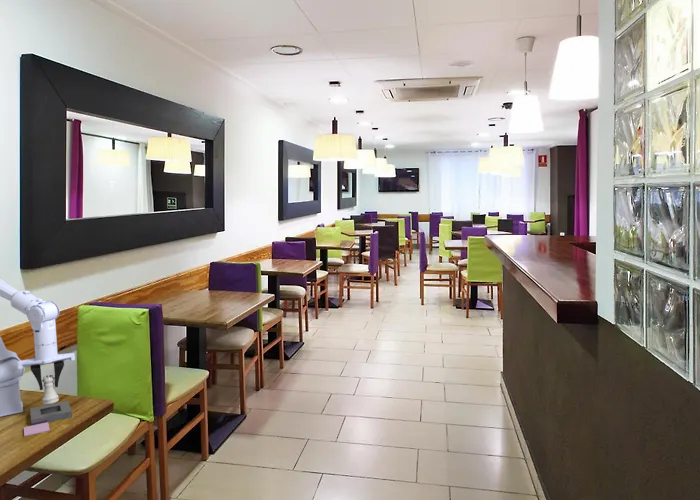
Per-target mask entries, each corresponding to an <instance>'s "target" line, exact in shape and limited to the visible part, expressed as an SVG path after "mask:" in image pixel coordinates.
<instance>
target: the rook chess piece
mask: <svg viewBox="0 0 700 500" xmlns="http://www.w3.org/2000/svg"><path fill="white" fill-rule="evenodd" d="M42 378H43V379H41V380H42V383H43V384H42V385H43V397H42V398H41V400H42V402H41V403H42V404H43V406H45V405H50V404H56V403H59V400H60V398H59V395H58V393H57V392H56V390H55V382H54V381H55V376H54V375H52V374H50V375H46V376H43V377H42Z"/></svg>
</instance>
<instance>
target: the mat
mask: <svg viewBox="0 0 700 500" xmlns="http://www.w3.org/2000/svg"><path fill="white" fill-rule="evenodd" d="M49 423H50V422H46V423H42V424H37V425H32V424H31V425H29V426H25V427H23V437H28V436H33V435H37V434H41V433H47V432H50V424H49Z"/></svg>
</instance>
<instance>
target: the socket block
mask: <svg viewBox="0 0 700 500" xmlns="http://www.w3.org/2000/svg"><path fill="white" fill-rule="evenodd" d="M70 405H71V404H70V402H69V400H66V401H62V402H56V403H54V404H50V405H41V406H40V405H39V406H36V407H32V408H31V407H30V410H29V411H30V422H31V426H32V425H37V424H42V423H46V422H48V423H51V422H56V421H62V420H66V419H70V418H73V414H72V413H73V412H72V408H71V406H70Z"/></svg>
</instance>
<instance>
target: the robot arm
mask: <svg viewBox="0 0 700 500" xmlns="http://www.w3.org/2000/svg"><path fill="white" fill-rule="evenodd" d="M31 292H32V291H30V290H18V289H16V288H14V286H12V285H10V284H8V282H6V281H5V280H3V279H2V277H1V276H0V297H1V298H4V299H6V300H8V301H10V306H11V308H13V309H15V310H17V311H19V312H20V313H22V314H23V315H26V318H27V320H28V321H29V323H30V326H31V330H32V331H33V340H34V342H33V343H34V356H35V357H33V358H29V359H27V358H26V359H24V360H23V359H22V360H21V358H19V357H18V354H17V353H16V351H15V352H14V351H12V350H9V349H7V348H6V345H5V343H4V341H3V339H2V337H1V336H0V417H5V416H10V415H15V414H21V413H23V412H24V408H23V406H24V405H23V401H22V399H21V398H22V397H21V389H20V387H21V386H20V381H22V376H23V375H24V374H25V371H26V368H30V372H31V373H32V375H34V377H35V379H36V381H37V384H38V386H39V390H40V391H42V390H43V391H44V386H43V385H44V384H43V381H42V380H43V379H42V369H41V366H42V365H50V364H53V369H54V371H53V372H54V378H55V379H54V388H58V387H59V382H60V377H61V373H62V371H63V369H64V367H65V362H69V361H76V355H75V352H68V353H58V341H57V340H58V339H57V338H58V337H57V323H56V320H57V319H58V318H59V316H60V307H59V305H58V304H57V303H56V302H54V300H48V301H45V300H43V298H39V297H38V296H35V295H34V294H32V293H31Z"/></svg>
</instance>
